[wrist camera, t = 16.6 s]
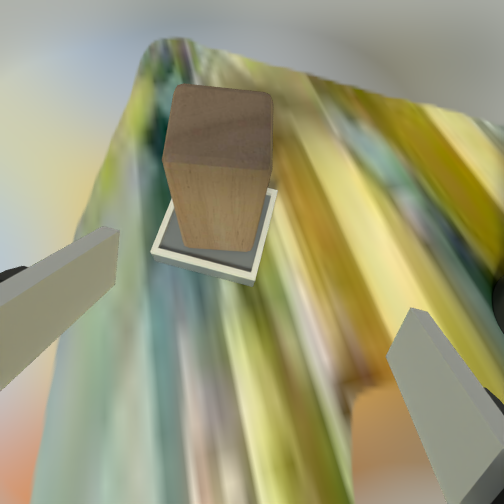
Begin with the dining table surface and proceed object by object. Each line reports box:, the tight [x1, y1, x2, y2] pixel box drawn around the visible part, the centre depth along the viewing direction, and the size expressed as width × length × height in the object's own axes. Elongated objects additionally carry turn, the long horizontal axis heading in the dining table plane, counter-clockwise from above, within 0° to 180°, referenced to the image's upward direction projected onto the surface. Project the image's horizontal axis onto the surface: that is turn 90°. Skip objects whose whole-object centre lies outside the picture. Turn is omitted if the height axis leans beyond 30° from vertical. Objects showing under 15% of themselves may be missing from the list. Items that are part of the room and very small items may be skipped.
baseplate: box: [150, 188, 278, 287], centre depth 50 cm, size 15×15×4 cm
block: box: [162, 84, 273, 252], centre depth 40 cm, size 10×10×20 cm
